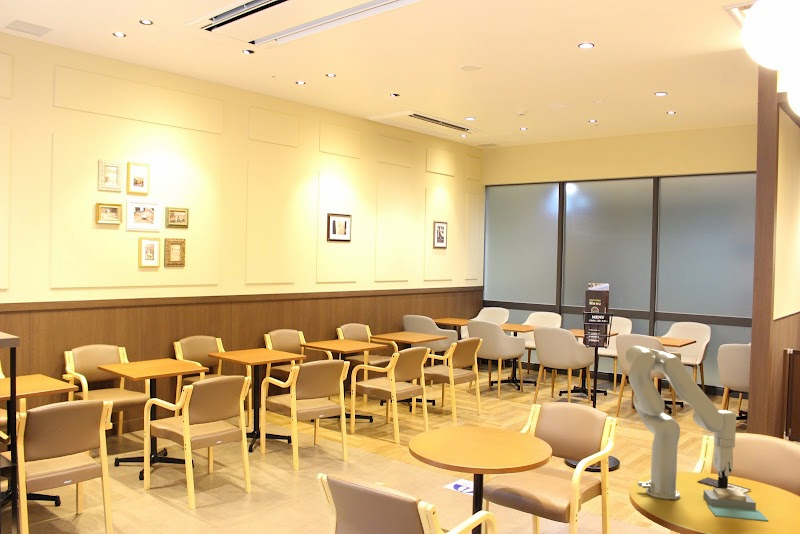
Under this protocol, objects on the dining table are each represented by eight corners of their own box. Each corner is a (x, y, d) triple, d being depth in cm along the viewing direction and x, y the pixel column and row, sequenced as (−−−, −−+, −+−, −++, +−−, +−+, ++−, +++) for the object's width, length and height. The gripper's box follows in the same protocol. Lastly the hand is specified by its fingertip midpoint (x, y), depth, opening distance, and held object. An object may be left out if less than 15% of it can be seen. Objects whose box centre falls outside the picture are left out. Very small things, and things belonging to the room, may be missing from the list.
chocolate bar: (708, 477, 287) (751, 489, 273) (707, 479, 287) (750, 491, 273) (697, 481, 282) (741, 493, 268) (697, 483, 282) (740, 495, 268)
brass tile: (718, 498, 254) (718, 493, 254) (712, 491, 261) (712, 487, 261) (746, 500, 252) (746, 496, 252) (740, 494, 259) (740, 490, 259)
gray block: (710, 506, 253) (710, 498, 253) (703, 497, 263) (703, 489, 263) (755, 510, 250) (755, 502, 250) (746, 501, 260) (747, 493, 260)
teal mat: (715, 516, 243) (715, 515, 243) (707, 506, 253) (707, 505, 253) (768, 521, 240) (768, 520, 240) (758, 511, 250) (758, 510, 250)
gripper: (709, 436, 273) (707, 480, 273) (720, 446, 258) (718, 492, 258) (728, 437, 271) (726, 482, 271) (740, 447, 256) (738, 494, 257)
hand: (722, 487), depth 265 cm, fingers closed
